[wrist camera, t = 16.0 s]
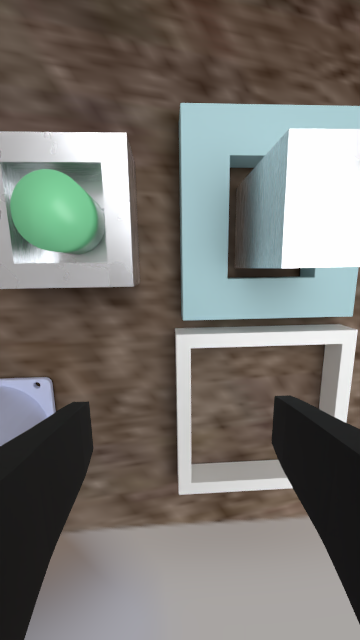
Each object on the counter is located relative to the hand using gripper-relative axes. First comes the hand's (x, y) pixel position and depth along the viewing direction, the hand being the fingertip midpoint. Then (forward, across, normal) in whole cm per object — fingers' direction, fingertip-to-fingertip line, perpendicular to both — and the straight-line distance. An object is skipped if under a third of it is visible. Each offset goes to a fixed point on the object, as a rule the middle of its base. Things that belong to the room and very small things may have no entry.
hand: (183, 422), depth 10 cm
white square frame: (+10, -6, +5) cm, 13 cm away
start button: (+9, +7, -9) cm, 14 cm away
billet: (+11, -6, -8) cm, 15 cm away
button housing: (+10, +7, -9) cm, 15 cm away
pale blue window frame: (+11, -6, -9) cm, 15 cm away
